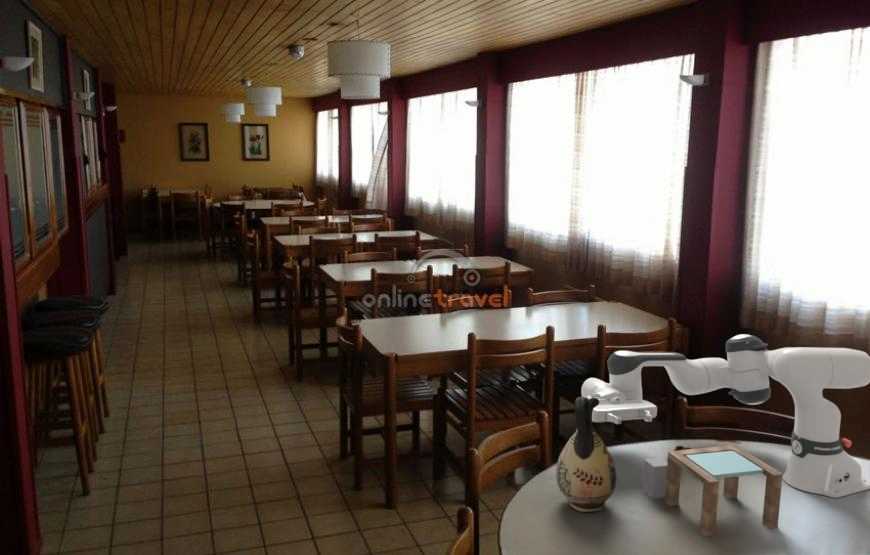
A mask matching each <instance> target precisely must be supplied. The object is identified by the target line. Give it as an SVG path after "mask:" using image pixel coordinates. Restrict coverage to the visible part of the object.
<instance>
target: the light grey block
mask: <svg viewBox="0 0 870 555" xmlns="http://www.w3.org/2000/svg"><path fill="white" fill-rule="evenodd" d="M643 461H644V462H643V476H642V478H643V479H642V491H643V492H644V493H645V494H646V495H647V496H648V497H650V498H651V499H659V498H665V494H666V479H667V463H668V461H666V460H665V459H664V458H663V457H656V458H655V457H653V458H644V460H643Z"/></svg>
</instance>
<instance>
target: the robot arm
mask: <svg viewBox="0 0 870 555" xmlns="http://www.w3.org/2000/svg"><path fill="white" fill-rule="evenodd" d="M768 346H769V344H768V343H764V342H763V341H762V339H760V338H759V337H758V336H755V335H750V334H748V333H747V334H745V333H744V334H743V333H741V334H736V335H735V336H732V337H731V338H729V339H728V340H727V341H726V342H725V353H726V357H727V360H726V359H724V358H721V357H702V358H697V359H688V358H687V357H686V356H685V355H684V354H682V353H679V352H674V351H634V350H632V351H631V350H617V351H614V352H613V353H612V354H611V355H610V356H609V357H608V359H607V360H606V363H607V369H608V370H607V371H608V373H609V374H608V376H609V383H608V382H605V381H604V380H601V379H599V378H596V377H589V378H587V379H586V380H585V381H583V384H582V385H581V390H580V391H581V392H580V393H581V397H585V398H588V400H589V399H591V398H597V399H598V400H599V405H598V406H596V407H595V408H594V409H593V412H592V423H606V422H608V423H609V422H610V423H614V424H616V425H621V424H622V421H633V420H644V421H645V422H649V423H650V422H653V419H655V418H656V417H657V415H658V414H657V413H658V407H657V405H655V404H654V403H653V402H650V401H648V400H645V399H643V387H642V375H641V374H642V369H643V367H664V368H665V370H666V372H667V374H668V376H669V378H670V381H671V383H672V385H673V386H674V387H675V388H676V389H677V391H679V392H681V393H682V394H685V395H686V396H687V395H688V396H695V395H701V394H707V393H710V392H713V391H716V390H719V389H723V388H724V389H725V388H728V389H730V390H731V391H728V395H729V396H733V398H734V399H735V400H737V401H739V402H740V403H741V404H746V405H749V406H751V405H752V406H753V405H760V404H763V403H765V402H766V401H768V400H769V399H770V398H771V396H772V395H771V394H772V393H771V390H772V389H771V386H770V379H769V377H770V378H771V379H773V380H775V381H776V382H779V383H780V384H781V385H783V386H784V387H785V388H786V389H787V390H788V391H789V393H790V395H791V396H792V400H793V403H794V427H793V430H792V433H791V440H790V446H791V449H790V451H789V452H790V454H789V457H788V460H787V465H786V467H785V471H784V473H783V476H782V480H784V482H785V483H787V485H790V486H791V487H793V488H796V489H798V490H799V491H804V492H806V493H811V494H818V495H823V496H827V497H830V498H832V499H833V498H835V499H837V498H841V497H844V496H848V495H852V494H855V493H860V492H863V491H867V490H870V482H869V481H868V480H867V479H866V478H864V477H863V475H862V467H861V465H860V463H859V462H858V461H857V460H856V459H855V458H854V457H853V456H851V455H850V454H848V453H847V452H846V451H845V450H844V448H843V446H844V447H846V448H850V447H851V446H852V444H853V442H852V441H851V440H850V439H847V438H846V437H842V438H841V436H840V429H841V420H842V419H841V418H842V414H841V410H840V409H839V407H838V406H837V405H836V404H835V403H834V402H832V401H830V400H829V399H826V398H825V397H824V396H823V390H824V389H840V390H841V389H843V390H844V389H845V390H846V389H847V390H848V389H849V390H850V389H854V388H855V389H856V388H861V387H865V386H867V385H868V384H869V385H870V356H869V354H868V353H867V352H865V351H863V350H859V349H853V348H847V347H812V346H811V347H808V346H806V347H804V346H803V347H802V346H798V347H790V346H789V347H788V346H787V347H782V348H777V349H773V350H769V349H768V348H767V347H768Z"/></svg>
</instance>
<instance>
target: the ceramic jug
mask: <svg viewBox="0 0 870 555" xmlns="http://www.w3.org/2000/svg"><path fill="white" fill-rule="evenodd" d="M598 405H599V400H598V399H597V398H591V399H589V400H588V398H585V397H582V396H579V397H577V398H575V400H574V417H575V425H576V430H575V432H574V433H573V434H572V435H571V436H570V438H569V440H568V441H567V442H566V444H565V445H564V447H563V448H562V450H561V452H560V454H559V456H558V460H557V463H556V469H555V479H556V484H557V487H558V489H559V490H560V492H561V493H562V494H563V495H564V496H565V498H566V500H567V501H568V505H569V506H570V507H571V508H573V509H575V510H576V511H578V512H598V511H602V509H604V508H605V506H606V504H605V503H606V502H607V501H608V499H610V497H611V496H612V494H613V492H614V491H615V488H616V485H617V473H616V471H617V470H616V467H615V463H614V459H613V457H612V455H611V452H610V451H609V450H608V448H607V446H606V444H605V442H604V441H603V440H602V438H601V437H600V435H599V434H598V433H597V432H596V430H595V428H594V426H593V421H592V412H593V409H594V408H595V407H596V406H598Z"/></svg>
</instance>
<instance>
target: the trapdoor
mask: <svg viewBox="0 0 870 555" xmlns="http://www.w3.org/2000/svg"><path fill="white" fill-rule="evenodd" d="M685 457H686V458H688V459H689V460H691V461H692V462H693V463H695V464H696V465H698V466H699V467H700V468H702V469H703V470H704V471H706V472H707V473H709V474H710V475H711V476H713V477H714V478H716V479H717V480H718V479H725V478H727V477H736V476H739V477H743V476H753V475H763V469H761V468H760V467H758V466H757V465H755V464H753V463H752V462H750V461H749V460H747V459H745V458H744V457H742V456H741V455H739V454H738V453H736V452H734V451H724V452H714V453H704V454H694V455H685Z"/></svg>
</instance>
